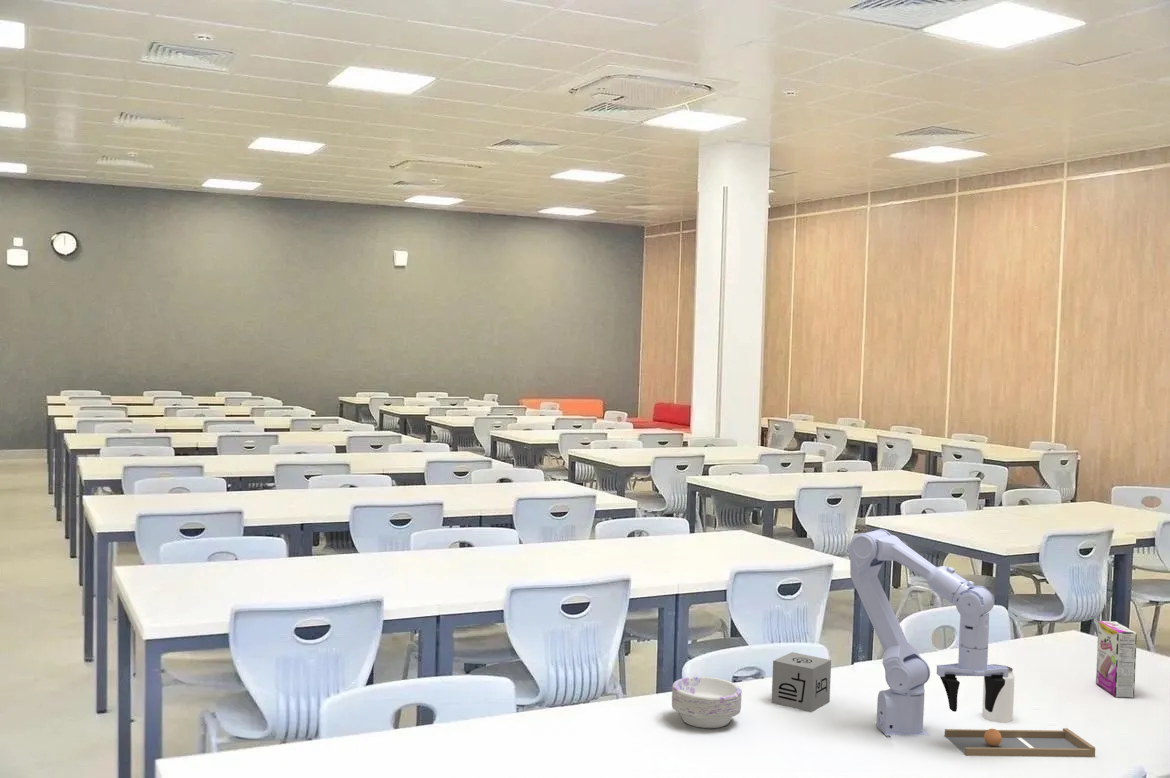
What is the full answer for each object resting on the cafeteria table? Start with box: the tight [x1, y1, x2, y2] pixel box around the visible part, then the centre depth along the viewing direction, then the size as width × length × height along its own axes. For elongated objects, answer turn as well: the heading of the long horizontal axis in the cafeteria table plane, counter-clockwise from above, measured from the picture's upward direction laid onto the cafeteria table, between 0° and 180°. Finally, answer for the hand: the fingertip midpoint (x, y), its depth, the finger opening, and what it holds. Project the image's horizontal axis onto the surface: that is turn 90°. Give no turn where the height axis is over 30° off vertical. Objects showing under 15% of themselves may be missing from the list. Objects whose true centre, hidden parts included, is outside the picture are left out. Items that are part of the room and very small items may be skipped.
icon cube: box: [771, 651, 832, 713], centre depth 258 cm, size 10×10×10 cm
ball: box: [984, 728, 1002, 746], centre depth 231 cm, size 4×4×4 cm
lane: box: [944, 727, 1096, 758], centre depth 232 cm, size 27×12×2 cm, turn 93°
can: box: [981, 663, 1015, 724], centre depth 250 cm, size 6×6×12 cm
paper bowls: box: [671, 676, 743, 729], centre depth 243 cm, size 15×15×8 cm
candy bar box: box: [1095, 620, 1138, 699], centre depth 275 cm, size 11×5×16 cm, turn 179°
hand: (970, 710), depth 231 cm, fingers open, 7 cm apart
